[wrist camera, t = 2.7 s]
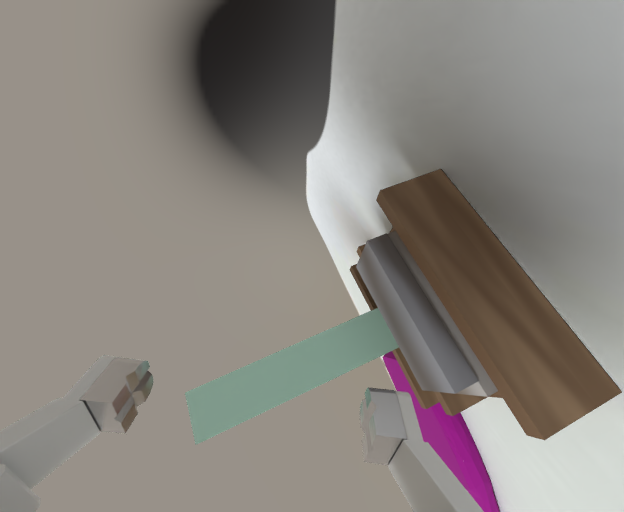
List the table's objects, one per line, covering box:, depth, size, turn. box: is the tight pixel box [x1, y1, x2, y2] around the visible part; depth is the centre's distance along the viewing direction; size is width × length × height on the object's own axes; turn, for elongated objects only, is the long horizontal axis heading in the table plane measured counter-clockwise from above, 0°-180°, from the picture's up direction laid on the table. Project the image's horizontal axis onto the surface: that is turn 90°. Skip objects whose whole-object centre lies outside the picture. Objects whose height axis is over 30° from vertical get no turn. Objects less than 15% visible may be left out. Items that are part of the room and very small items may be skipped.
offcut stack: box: [356, 231, 498, 397], centre depth 18 cm, size 5×11×4 cm, turn 90°
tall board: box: [185, 308, 399, 444], centre depth 22 cm, size 2×4×20 cm
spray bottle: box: [383, 351, 500, 512], centre depth 30 cm, size 3×11×25 cm
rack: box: [350, 169, 622, 440], centre depth 20 cm, size 14×14×4 cm
